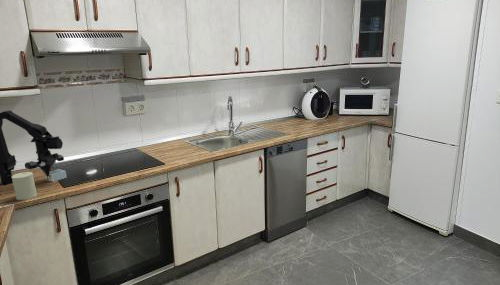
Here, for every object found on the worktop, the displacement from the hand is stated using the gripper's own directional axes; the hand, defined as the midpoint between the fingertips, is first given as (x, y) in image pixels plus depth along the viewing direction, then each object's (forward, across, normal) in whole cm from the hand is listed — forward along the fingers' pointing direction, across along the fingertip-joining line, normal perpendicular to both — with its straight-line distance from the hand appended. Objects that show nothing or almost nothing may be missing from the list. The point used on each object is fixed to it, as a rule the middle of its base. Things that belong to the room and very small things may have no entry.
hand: (47, 176), depth 202 cm
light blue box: (+1, +1, 0) cm, 1 cm away
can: (+3, -17, -12) cm, 21 cm away
